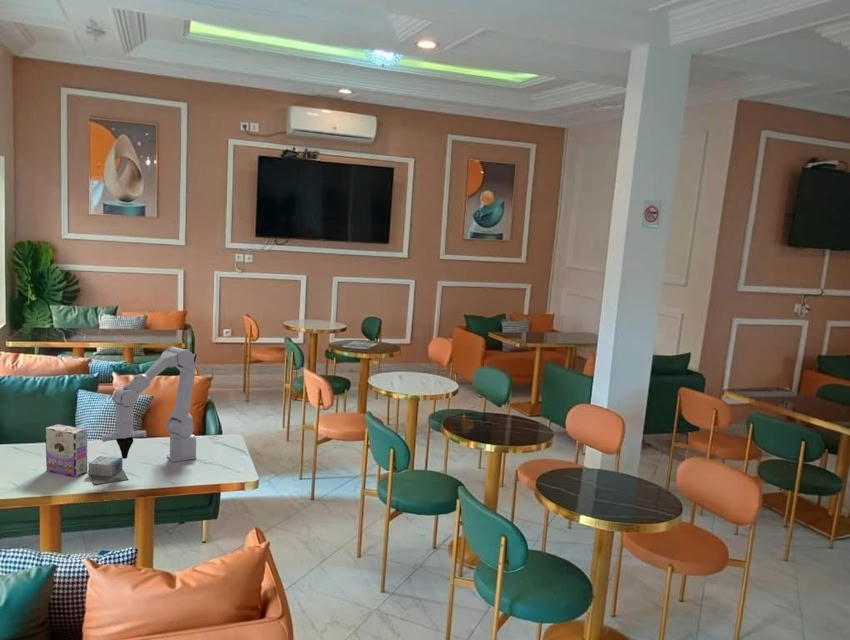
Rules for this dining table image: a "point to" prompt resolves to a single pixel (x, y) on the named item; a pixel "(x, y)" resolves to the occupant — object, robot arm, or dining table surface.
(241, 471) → the dining table surface
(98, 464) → the medicine box
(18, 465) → the dining table surface
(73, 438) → the candy box
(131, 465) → the dining table surface
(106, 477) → the mat
